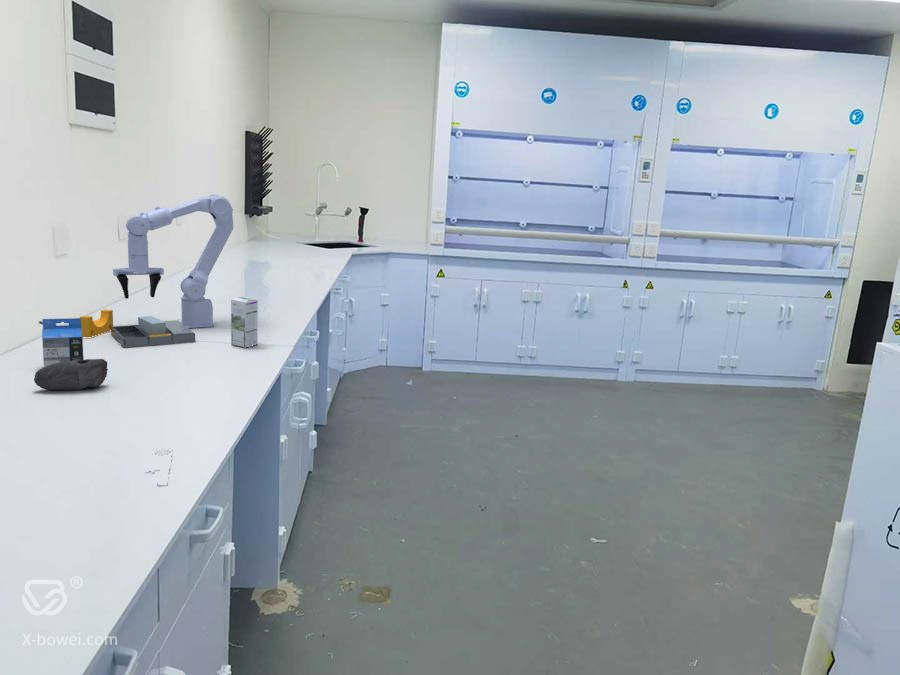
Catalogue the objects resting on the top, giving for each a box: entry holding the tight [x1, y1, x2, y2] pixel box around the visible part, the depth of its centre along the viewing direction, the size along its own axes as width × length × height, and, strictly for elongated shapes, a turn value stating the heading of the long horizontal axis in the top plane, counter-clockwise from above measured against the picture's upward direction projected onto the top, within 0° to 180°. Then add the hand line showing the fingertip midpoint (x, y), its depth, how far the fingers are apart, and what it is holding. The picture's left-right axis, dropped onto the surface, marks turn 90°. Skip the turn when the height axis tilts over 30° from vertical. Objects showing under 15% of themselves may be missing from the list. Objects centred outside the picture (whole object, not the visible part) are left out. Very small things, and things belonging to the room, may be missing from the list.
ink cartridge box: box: [41, 317, 85, 368], centre depth 171 cm, size 9×4×12 cm, turn 118°
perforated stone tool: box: [33, 358, 109, 391], centre depth 156 cm, size 15×5×7 cm, turn 114°
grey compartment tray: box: [110, 319, 196, 349], centre depth 205 cm, size 20×16×3 cm
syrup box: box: [230, 296, 259, 349], centre depth 204 cm, size 6×6×14 cm
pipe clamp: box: [79, 309, 114, 338], centre depth 205 cm, size 12×4×6 cm, turn 173°
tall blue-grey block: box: [137, 315, 166, 336], centre depth 205 cm, size 4×10×5 cm, turn 47°
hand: (139, 297), depth 214 cm, fingers open, 7 cm apart
